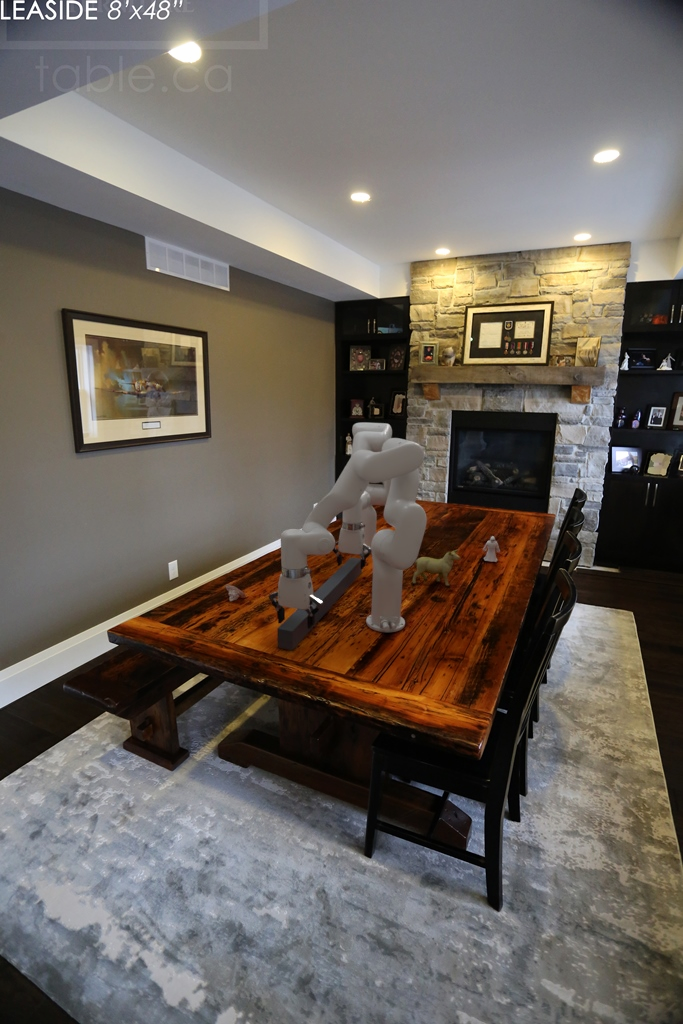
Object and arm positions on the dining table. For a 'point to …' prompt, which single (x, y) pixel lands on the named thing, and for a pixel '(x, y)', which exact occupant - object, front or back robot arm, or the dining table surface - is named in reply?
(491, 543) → the figurine
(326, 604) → the post
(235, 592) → the white irregular piece
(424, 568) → the toy
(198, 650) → the dining table surface
